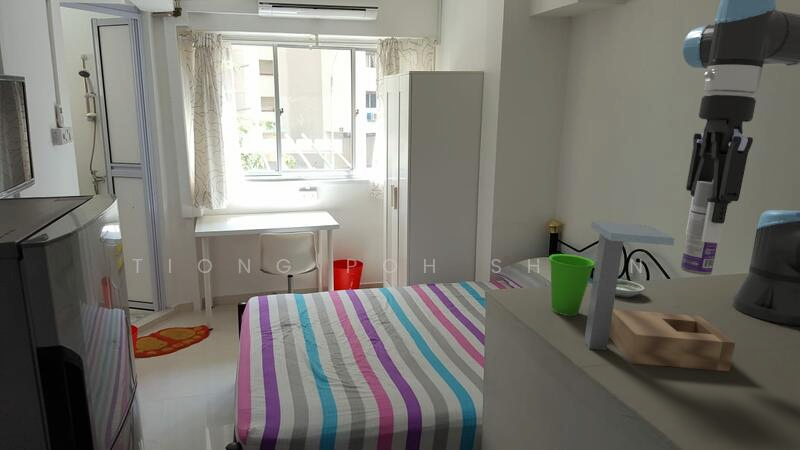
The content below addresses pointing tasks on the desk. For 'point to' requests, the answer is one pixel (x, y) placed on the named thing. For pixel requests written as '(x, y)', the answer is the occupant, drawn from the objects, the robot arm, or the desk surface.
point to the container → (699, 234)
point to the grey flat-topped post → (612, 274)
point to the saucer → (628, 288)
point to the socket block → (670, 340)
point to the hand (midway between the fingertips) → (702, 238)
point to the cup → (569, 281)
